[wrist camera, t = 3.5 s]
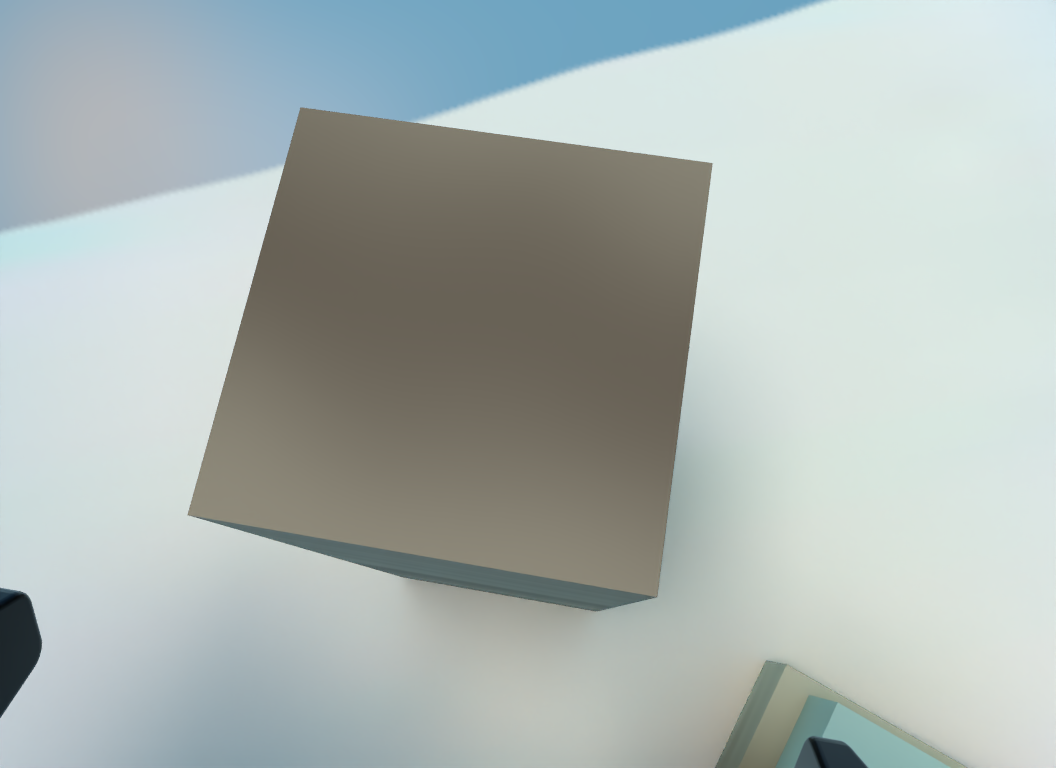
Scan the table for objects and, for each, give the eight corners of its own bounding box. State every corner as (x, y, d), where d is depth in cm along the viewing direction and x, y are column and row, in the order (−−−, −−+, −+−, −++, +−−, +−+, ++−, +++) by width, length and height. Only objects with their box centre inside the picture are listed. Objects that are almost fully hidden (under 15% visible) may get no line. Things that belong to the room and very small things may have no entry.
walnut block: (596, 611, 21) (657, 597, 9) (401, 576, 21) (187, 514, 9) (624, 418, 22) (712, 162, 10) (440, 389, 23) (300, 107, 10)
